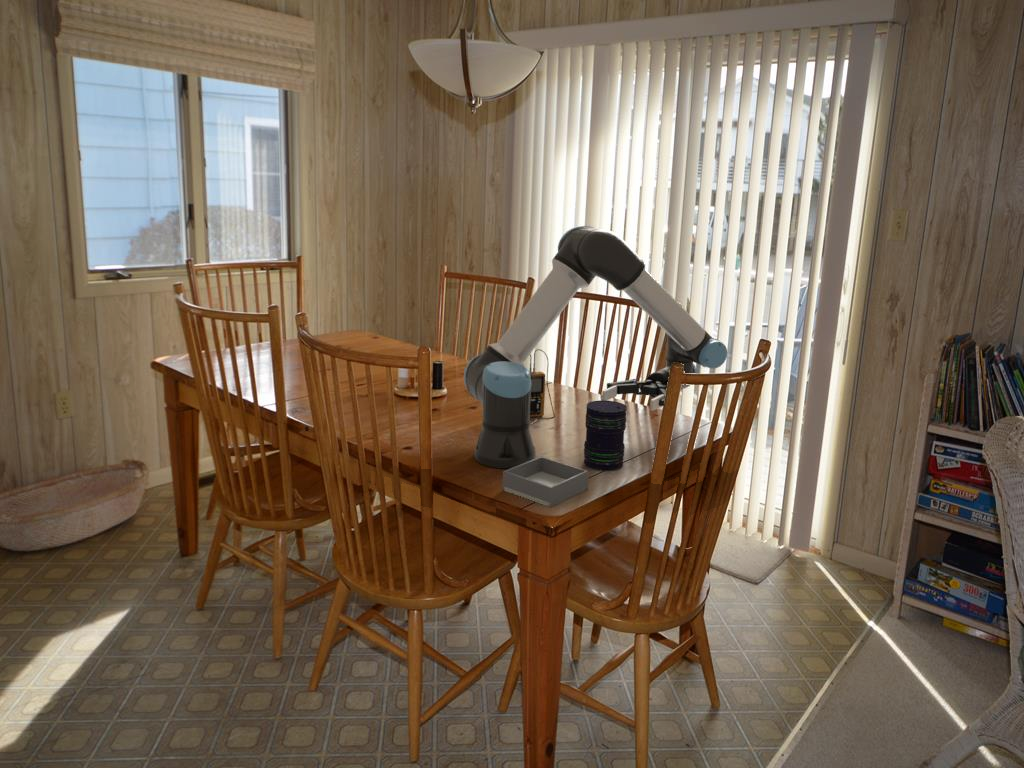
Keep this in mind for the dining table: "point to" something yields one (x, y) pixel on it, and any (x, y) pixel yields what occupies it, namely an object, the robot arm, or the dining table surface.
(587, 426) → the dark blue ribbed cylinder
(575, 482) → the cradle tray
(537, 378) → the multimeter
